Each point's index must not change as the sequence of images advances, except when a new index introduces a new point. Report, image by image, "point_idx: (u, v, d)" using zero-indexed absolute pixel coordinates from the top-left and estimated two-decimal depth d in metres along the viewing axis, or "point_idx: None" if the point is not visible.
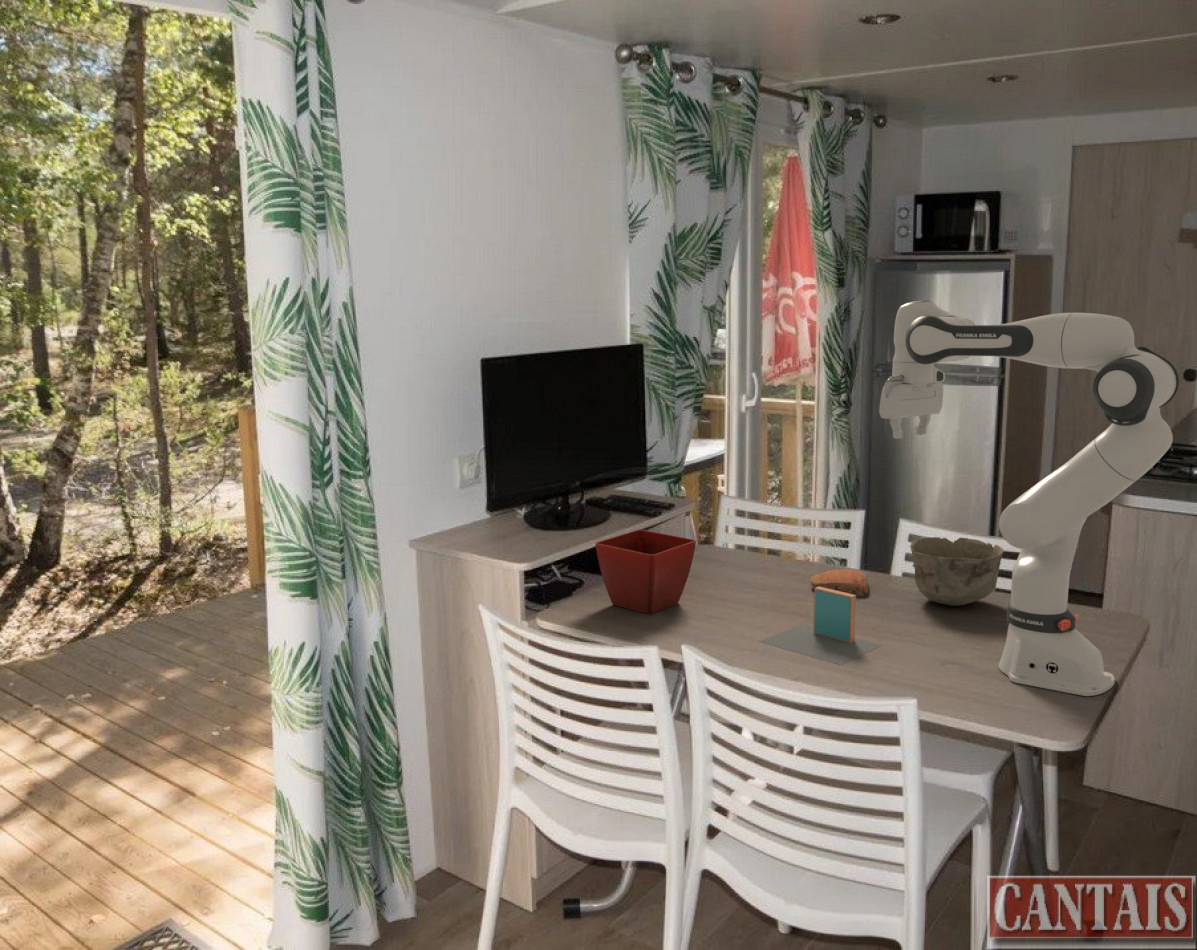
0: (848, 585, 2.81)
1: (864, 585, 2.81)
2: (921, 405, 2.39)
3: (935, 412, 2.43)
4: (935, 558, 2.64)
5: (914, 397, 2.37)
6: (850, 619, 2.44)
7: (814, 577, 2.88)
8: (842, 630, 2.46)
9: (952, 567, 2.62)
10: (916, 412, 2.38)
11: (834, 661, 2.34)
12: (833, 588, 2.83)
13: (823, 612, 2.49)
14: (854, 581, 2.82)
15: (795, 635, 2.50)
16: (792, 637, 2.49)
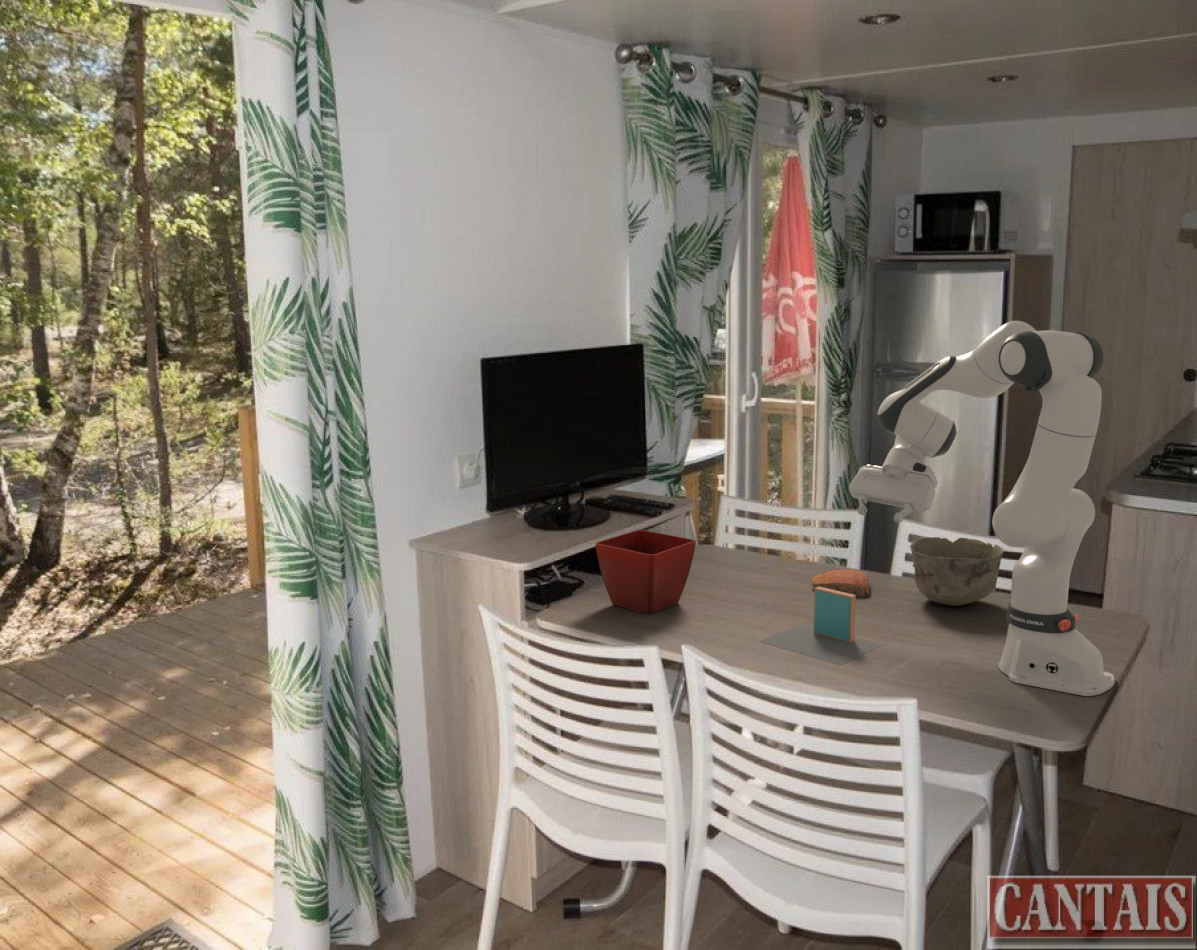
0: (849, 585, 2.81)
1: (865, 585, 2.81)
2: (892, 490, 2.53)
3: (914, 501, 2.48)
4: (935, 558, 2.64)
5: (886, 482, 2.56)
6: (850, 619, 2.44)
7: (815, 577, 2.88)
8: (842, 630, 2.46)
9: (952, 567, 2.62)
10: (883, 493, 2.54)
11: (834, 661, 2.34)
12: (834, 588, 2.82)
13: (823, 612, 2.49)
14: (855, 582, 2.82)
15: (795, 635, 2.50)
16: (792, 637, 2.49)
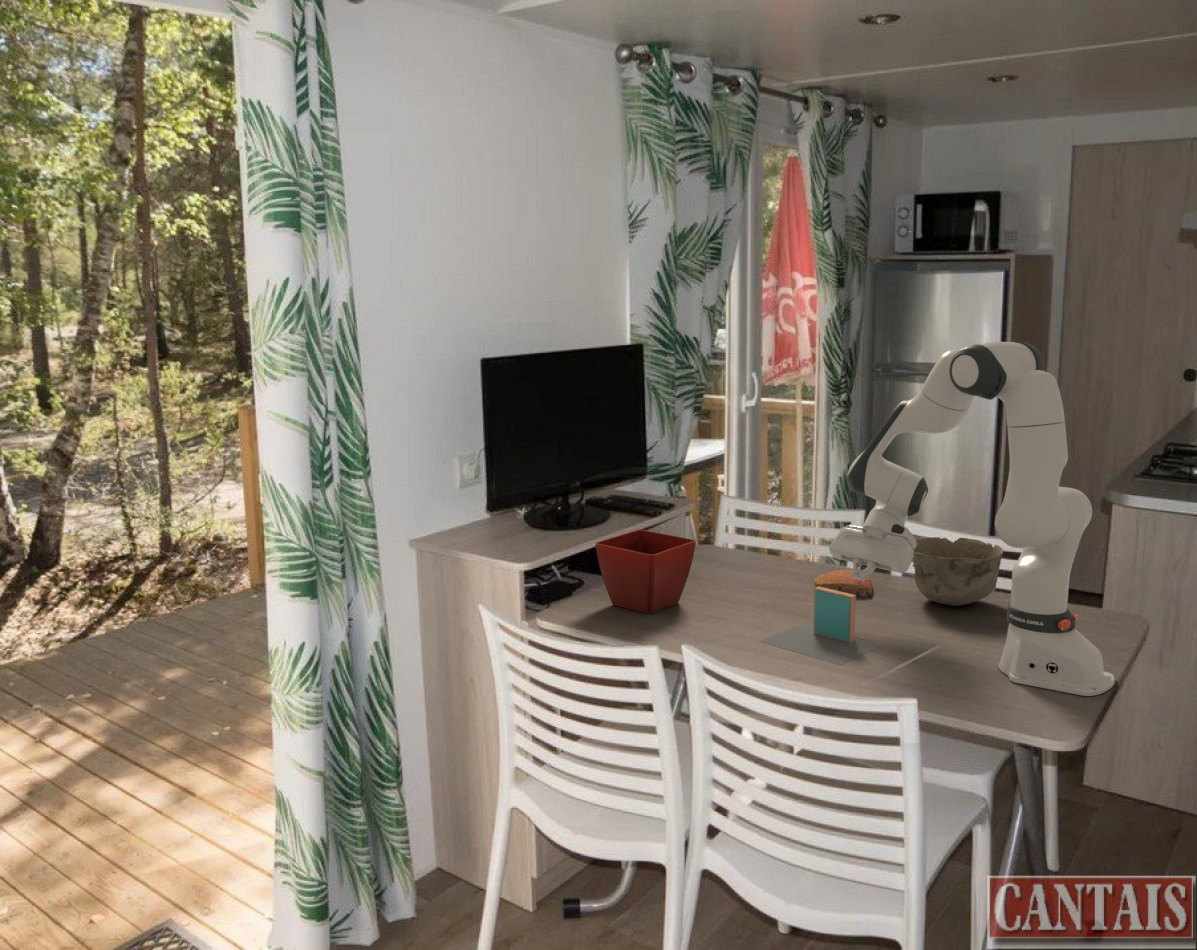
0: (852, 586, 2.80)
1: (868, 586, 2.81)
2: (871, 551, 2.54)
3: (891, 563, 2.49)
4: (935, 558, 2.64)
5: (865, 543, 2.57)
6: (850, 619, 2.44)
7: (818, 578, 2.88)
8: (842, 630, 2.46)
9: (952, 567, 2.62)
10: (862, 554, 2.55)
11: (834, 661, 2.34)
12: (837, 589, 2.82)
13: (823, 612, 2.49)
14: (857, 582, 2.81)
15: (795, 635, 2.50)
16: (792, 637, 2.49)
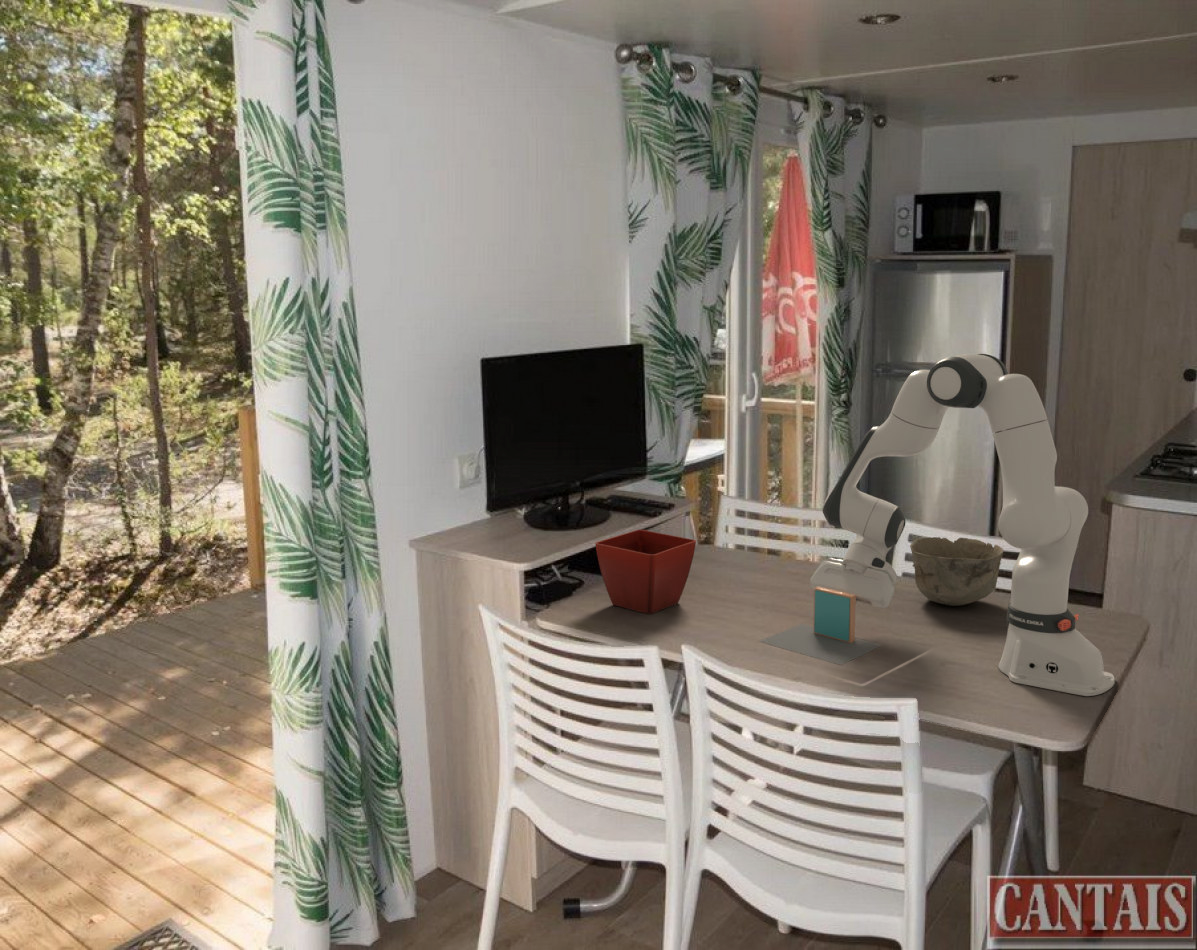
0: None
1: None
2: (851, 585, 2.49)
3: (871, 597, 2.44)
4: (935, 558, 2.64)
5: (846, 577, 2.52)
6: (850, 619, 2.44)
7: None
8: (842, 630, 2.46)
9: (952, 567, 2.62)
10: (842, 588, 2.50)
11: (834, 661, 2.34)
12: None
13: (823, 612, 2.49)
14: None
15: (795, 635, 2.50)
16: (792, 637, 2.49)
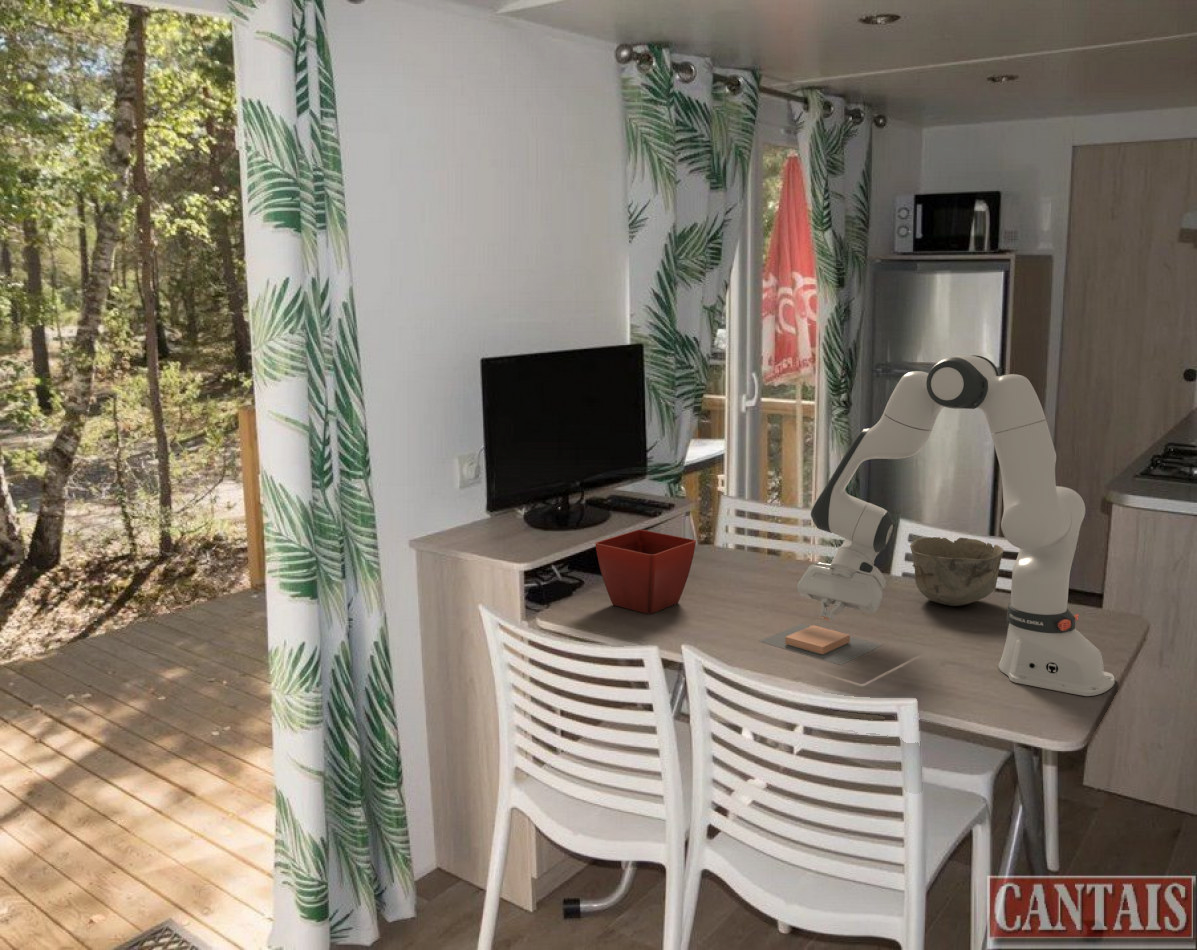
0: None
1: None
2: (839, 590, 2.46)
3: (859, 603, 2.41)
4: (935, 558, 2.64)
5: (834, 581, 2.48)
6: (835, 648, 2.41)
7: None
8: None
9: (952, 567, 2.62)
10: (830, 593, 2.47)
11: (834, 661, 2.34)
12: None
13: None
14: None
15: None
16: None
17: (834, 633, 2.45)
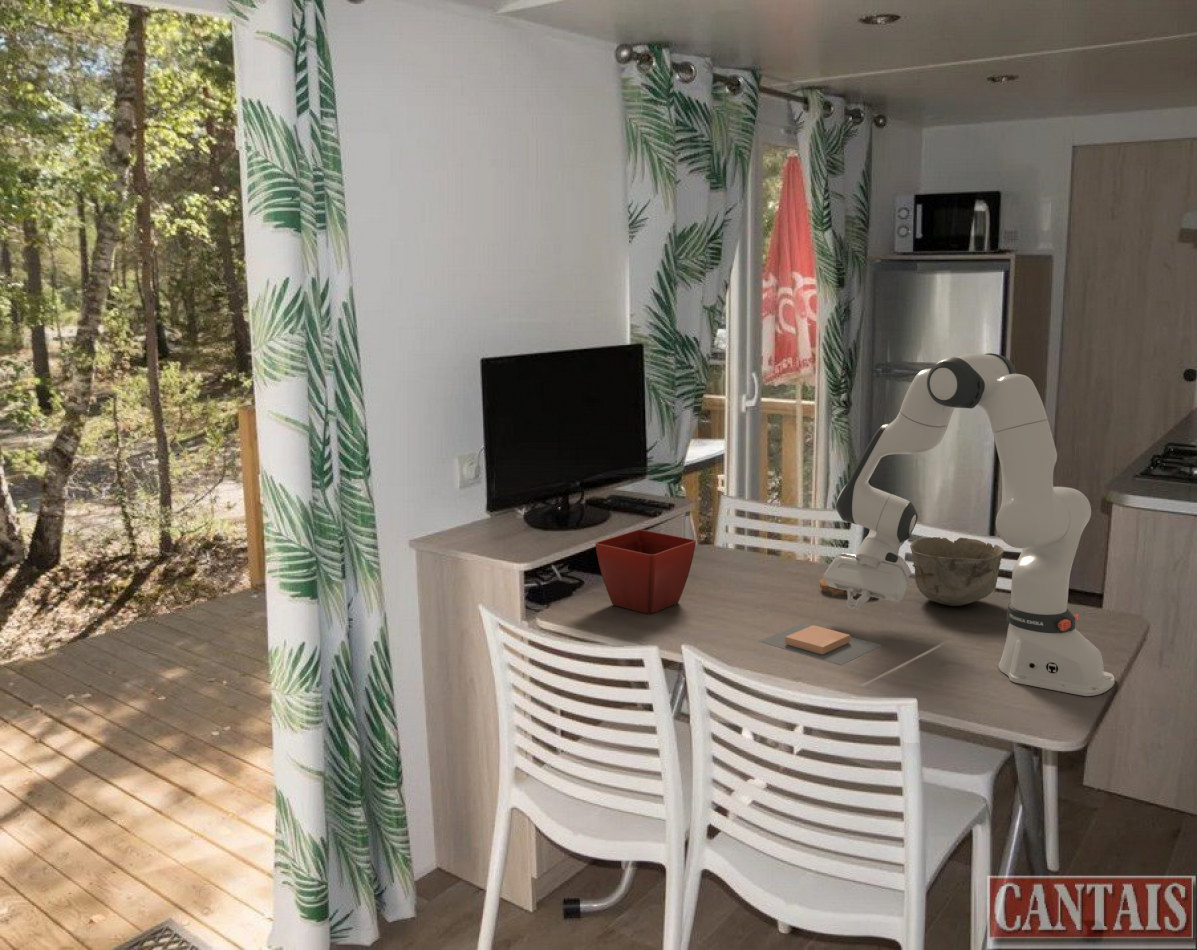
0: None
1: None
2: (865, 580, 2.53)
3: (885, 592, 2.49)
4: (935, 558, 2.64)
5: (860, 571, 2.56)
6: (835, 648, 2.41)
7: (823, 579, 2.86)
8: None
9: (952, 567, 2.62)
10: (856, 583, 2.54)
11: (834, 661, 2.34)
12: (842, 590, 2.81)
13: None
14: None
15: None
16: None
17: (834, 633, 2.45)
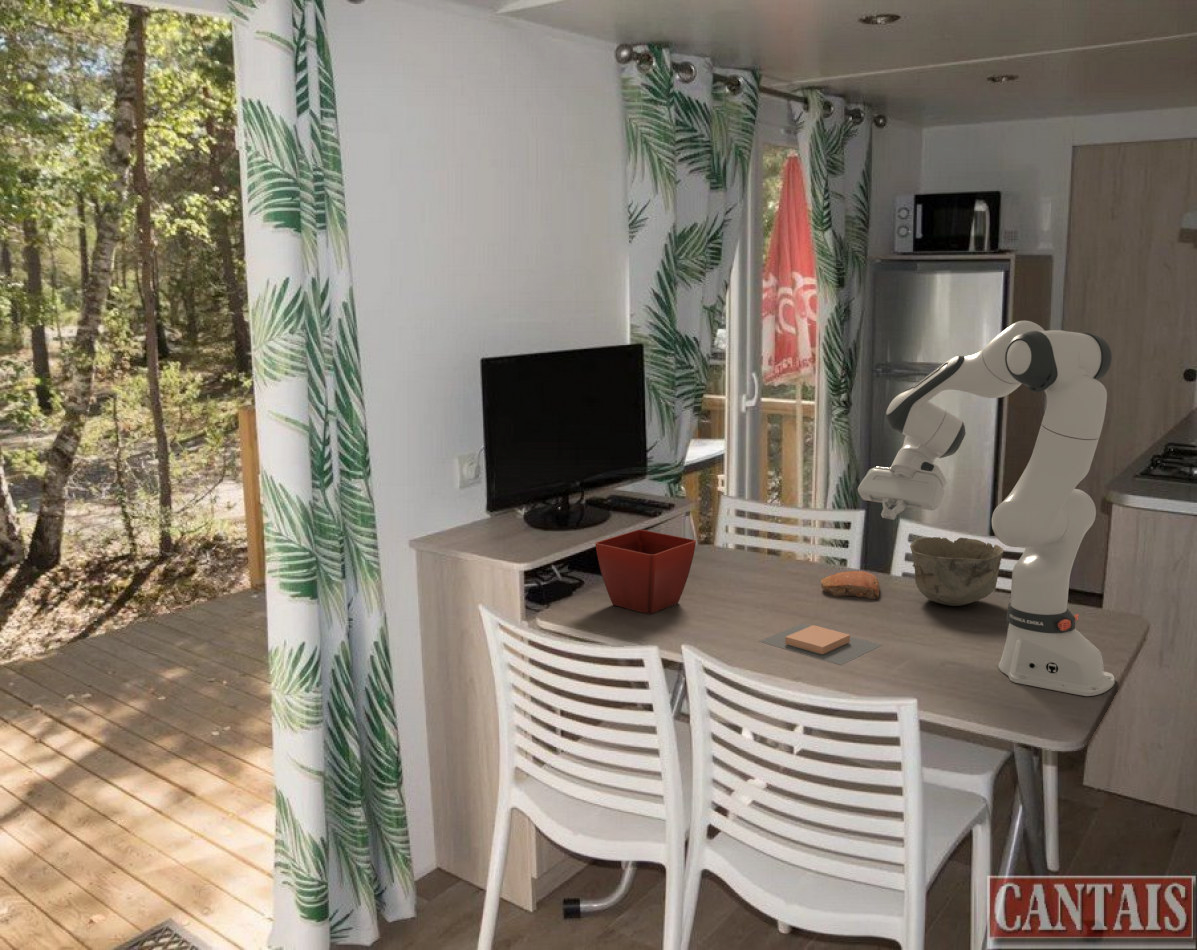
0: (859, 587, 2.79)
1: (875, 588, 2.79)
2: (901, 490, 2.52)
3: (921, 500, 2.47)
4: (935, 558, 2.64)
5: (894, 482, 2.55)
6: (835, 648, 2.41)
7: (824, 579, 2.86)
8: None
9: (952, 567, 2.62)
10: (891, 493, 2.53)
11: (834, 661, 2.34)
12: (844, 590, 2.80)
13: None
14: (864, 584, 2.80)
15: None
16: None
17: (834, 633, 2.45)
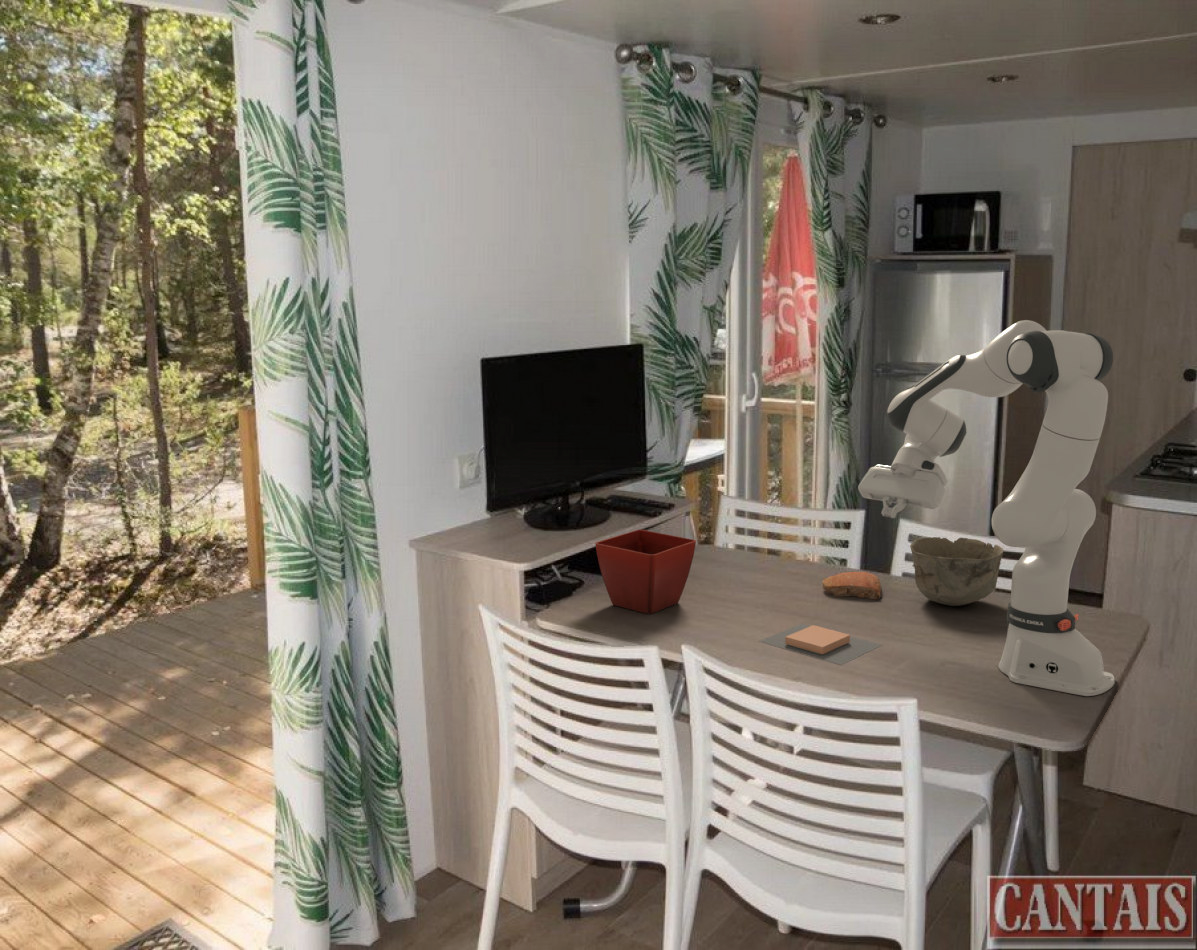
0: (860, 588, 2.79)
1: (877, 588, 2.79)
2: (901, 488, 2.52)
3: (922, 498, 2.47)
4: (935, 558, 2.64)
5: (895, 480, 2.55)
6: (835, 648, 2.41)
7: (826, 580, 2.86)
8: None
9: (952, 567, 2.62)
10: (891, 491, 2.53)
11: (834, 661, 2.34)
12: (845, 591, 2.80)
13: None
14: (866, 584, 2.79)
15: None
16: None
17: (834, 633, 2.45)
